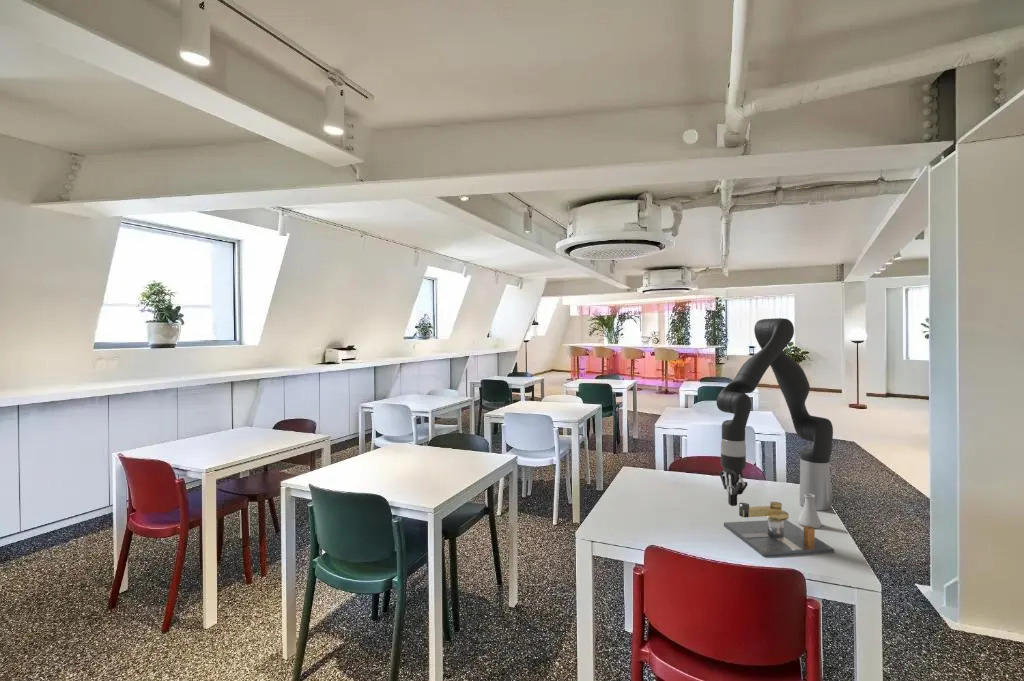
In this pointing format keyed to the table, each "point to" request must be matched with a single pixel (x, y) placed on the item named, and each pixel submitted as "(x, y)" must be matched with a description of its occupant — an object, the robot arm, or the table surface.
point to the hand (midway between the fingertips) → (732, 505)
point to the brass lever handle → (763, 511)
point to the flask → (809, 513)
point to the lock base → (778, 538)
